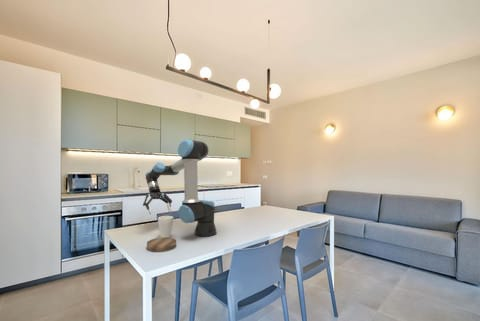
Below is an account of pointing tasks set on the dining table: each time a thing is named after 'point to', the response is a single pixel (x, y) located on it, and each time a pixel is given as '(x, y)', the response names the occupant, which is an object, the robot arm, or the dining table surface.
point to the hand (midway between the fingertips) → (160, 211)
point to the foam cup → (165, 226)
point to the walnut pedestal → (161, 244)
